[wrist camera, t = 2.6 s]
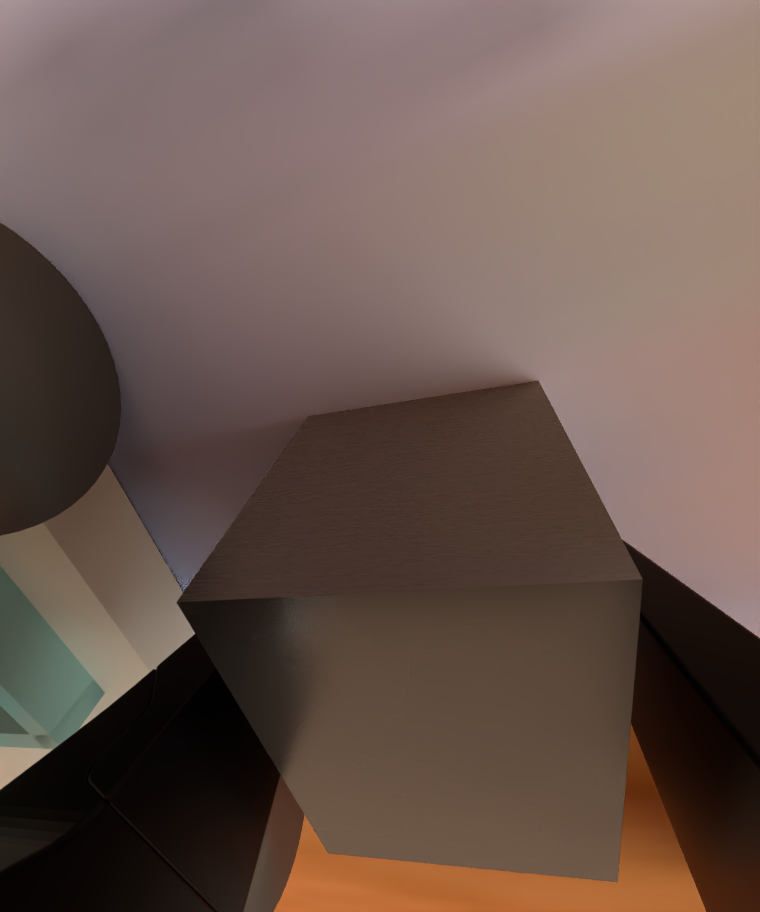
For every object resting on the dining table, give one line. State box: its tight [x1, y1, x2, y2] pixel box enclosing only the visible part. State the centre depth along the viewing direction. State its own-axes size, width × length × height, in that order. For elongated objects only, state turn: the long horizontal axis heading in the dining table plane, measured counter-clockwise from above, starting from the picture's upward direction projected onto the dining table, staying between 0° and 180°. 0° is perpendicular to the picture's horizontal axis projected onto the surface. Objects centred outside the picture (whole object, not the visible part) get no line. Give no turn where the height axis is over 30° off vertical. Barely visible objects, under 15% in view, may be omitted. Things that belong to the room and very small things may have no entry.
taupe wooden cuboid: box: [176, 381, 643, 882], centre depth 8 cm, size 6×4×5 cm
